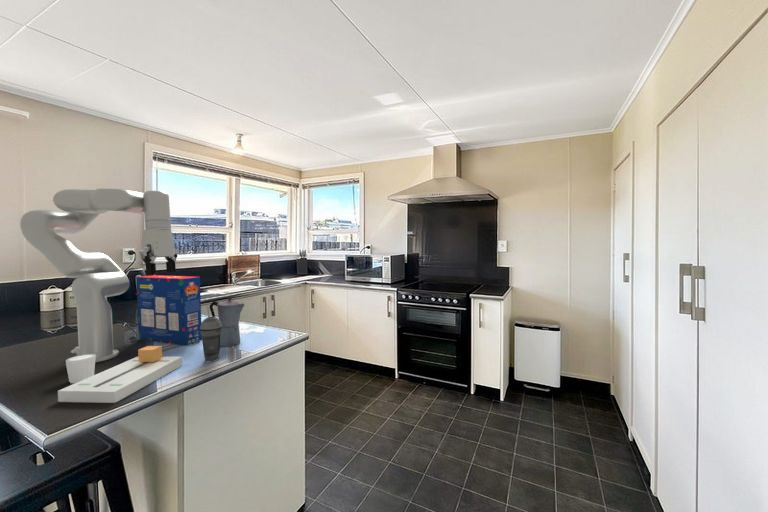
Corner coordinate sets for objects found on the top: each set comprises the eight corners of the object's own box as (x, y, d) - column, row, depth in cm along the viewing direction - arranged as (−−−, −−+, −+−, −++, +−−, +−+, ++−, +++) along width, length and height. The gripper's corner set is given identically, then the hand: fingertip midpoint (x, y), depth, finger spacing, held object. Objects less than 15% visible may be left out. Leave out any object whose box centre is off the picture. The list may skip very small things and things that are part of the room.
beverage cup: (213, 363, 112) (211, 307, 111) (195, 362, 113) (193, 306, 113) (227, 356, 119) (226, 303, 118) (210, 355, 120) (209, 302, 120)
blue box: (201, 340, 140) (199, 276, 139) (185, 345, 132) (182, 278, 131) (156, 334, 149) (154, 275, 148) (138, 339, 142) (136, 277, 141)
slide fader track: (58, 401, 85) (57, 390, 85) (137, 364, 111) (137, 356, 111) (115, 402, 85) (114, 391, 84) (182, 365, 111) (181, 356, 110)
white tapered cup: (79, 375, 103) (78, 354, 103) (102, 374, 103) (101, 353, 103) (59, 384, 96) (58, 361, 96) (84, 383, 97) (83, 360, 96)
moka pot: (240, 347, 129) (239, 298, 129) (203, 347, 130) (201, 298, 129) (250, 340, 139) (249, 294, 138) (215, 340, 139) (214, 294, 138)
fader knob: (138, 361, 105) (138, 349, 105) (148, 357, 109) (147, 346, 109) (153, 362, 105) (152, 350, 105) (162, 357, 109) (161, 346, 109)
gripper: (165, 227, 123) (168, 271, 124) (127, 225, 106) (131, 276, 107) (184, 226, 123) (187, 271, 124) (149, 224, 106) (153, 275, 106)
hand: (161, 273), depth 115 cm, fingers open, 9 cm apart
